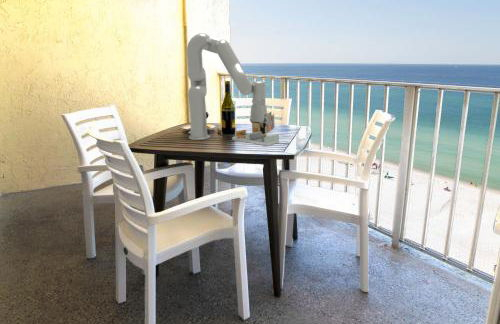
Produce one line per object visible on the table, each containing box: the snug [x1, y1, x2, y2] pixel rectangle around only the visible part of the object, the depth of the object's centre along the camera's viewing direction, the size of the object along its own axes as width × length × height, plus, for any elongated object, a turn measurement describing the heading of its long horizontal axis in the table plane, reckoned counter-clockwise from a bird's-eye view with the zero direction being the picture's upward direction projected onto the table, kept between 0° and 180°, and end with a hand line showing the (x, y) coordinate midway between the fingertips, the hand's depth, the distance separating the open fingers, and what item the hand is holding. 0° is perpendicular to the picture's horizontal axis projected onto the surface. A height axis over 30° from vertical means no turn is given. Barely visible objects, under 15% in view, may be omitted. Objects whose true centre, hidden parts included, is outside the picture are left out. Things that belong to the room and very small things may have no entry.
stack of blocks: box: [266, 110, 275, 134], centre depth 247 cm, size 21×6×12 cm, turn 165°
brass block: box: [251, 122, 267, 138], centre depth 224 cm, size 5×7×9 cm
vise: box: [231, 134, 280, 147], centre depth 213 cm, size 27×10×4 cm, turn 46°
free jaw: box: [235, 129, 262, 140], centre depth 216 cm, size 13×10×3 cm
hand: (259, 132), depth 225 cm, fingers open, 5 cm apart
